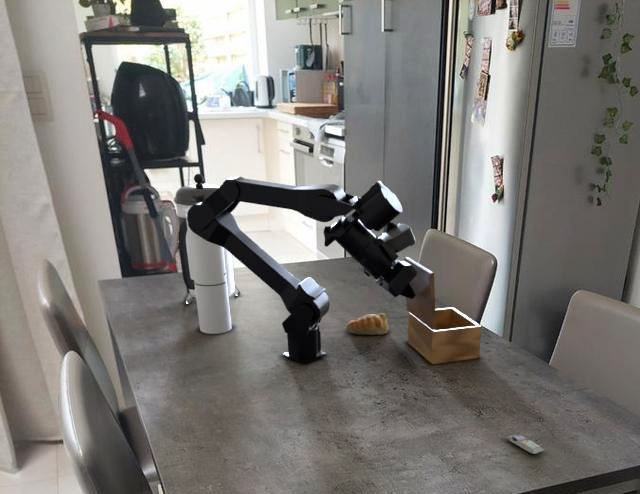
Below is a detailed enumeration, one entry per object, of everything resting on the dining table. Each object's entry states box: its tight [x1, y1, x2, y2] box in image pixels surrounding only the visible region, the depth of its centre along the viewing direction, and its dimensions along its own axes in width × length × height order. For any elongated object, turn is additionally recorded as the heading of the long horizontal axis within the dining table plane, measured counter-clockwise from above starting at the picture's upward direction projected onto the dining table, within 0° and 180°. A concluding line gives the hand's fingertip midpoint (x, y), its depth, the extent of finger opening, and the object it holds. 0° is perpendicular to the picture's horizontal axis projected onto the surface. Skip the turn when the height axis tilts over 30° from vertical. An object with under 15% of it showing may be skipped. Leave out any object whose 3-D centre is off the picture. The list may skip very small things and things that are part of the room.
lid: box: [403, 256, 436, 330], centre depth 140 cm, size 11×14×1 cm
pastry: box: [345, 312, 389, 336], centre depth 158 cm, size 9×7×4 cm
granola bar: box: [506, 433, 545, 455], centre depth 111 cm, size 7×2×1 cm, turn 31°
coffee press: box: [173, 173, 241, 305], centre depth 171 cm, size 17×16×30 cm
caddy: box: [407, 306, 483, 365], centre depth 146 cm, size 11×14×7 cm
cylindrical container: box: [186, 214, 232, 335], centre depth 154 cm, size 7×7×25 cm
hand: (413, 296), depth 140 cm, fingers closed
